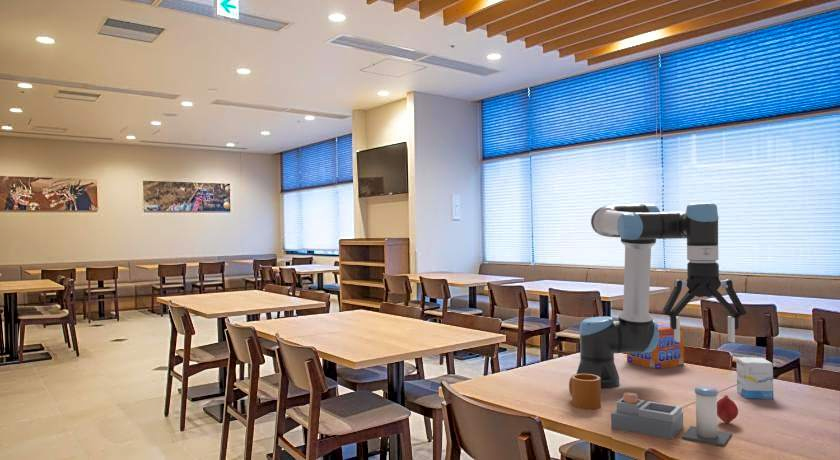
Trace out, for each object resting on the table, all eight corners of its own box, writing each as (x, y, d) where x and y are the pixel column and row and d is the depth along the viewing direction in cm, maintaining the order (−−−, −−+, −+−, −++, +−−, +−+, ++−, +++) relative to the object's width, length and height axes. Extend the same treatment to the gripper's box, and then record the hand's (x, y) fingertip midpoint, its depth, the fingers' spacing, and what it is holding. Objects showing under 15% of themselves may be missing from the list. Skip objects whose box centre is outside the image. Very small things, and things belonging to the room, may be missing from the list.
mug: (586, 397, 191) (586, 370, 191) (606, 408, 180) (606, 379, 180) (561, 399, 189) (561, 372, 189) (580, 410, 178) (580, 381, 178)
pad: (681, 438, 152) (681, 436, 152) (691, 428, 160) (691, 425, 160) (723, 446, 146) (723, 444, 146) (731, 435, 154) (731, 433, 154)
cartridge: (692, 430, 156) (692, 386, 156) (713, 431, 155) (713, 386, 155) (699, 437, 151) (698, 392, 151) (721, 438, 150) (720, 392, 150)
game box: (654, 357, 248) (654, 321, 248) (684, 365, 233) (683, 326, 233) (626, 361, 241) (625, 324, 242) (655, 369, 227) (654, 329, 227)
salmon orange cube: (622, 408, 164) (621, 394, 164) (626, 405, 167) (626, 391, 167) (635, 411, 162) (634, 396, 162) (639, 407, 165) (638, 393, 165)
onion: (710, 420, 166) (710, 392, 166) (729, 419, 167) (729, 391, 167) (723, 426, 160) (722, 398, 160) (742, 425, 161) (742, 397, 161)
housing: (611, 427, 162) (610, 404, 162) (625, 416, 171) (625, 394, 171) (671, 439, 152) (671, 414, 152) (683, 426, 161) (682, 403, 161)
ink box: (774, 399, 185) (773, 363, 185) (745, 398, 187) (744, 362, 187) (764, 392, 193) (763, 357, 193) (736, 391, 195) (735, 356, 195)
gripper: (657, 263, 151) (658, 343, 151) (759, 261, 148) (760, 344, 148) (650, 261, 159) (651, 338, 159) (747, 260, 155) (748, 338, 155)
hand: (704, 341), depth 153 cm, fingers open, 13 cm apart
